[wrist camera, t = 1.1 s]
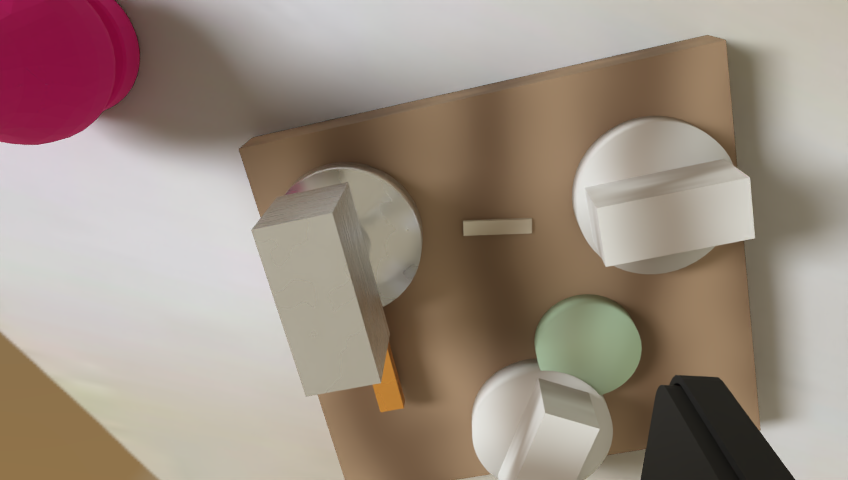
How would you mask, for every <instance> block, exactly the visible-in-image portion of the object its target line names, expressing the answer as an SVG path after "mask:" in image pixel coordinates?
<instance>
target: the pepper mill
mask: <svg viewBox="0 0 848 480" xmlns="http://www.w3.org/2000/svg"><path fill="white" fill-rule="evenodd" d="M139 62H140V52H139V45H138V40H137V36H136V33H135V31H134V28H133V26H132V24H131V22H130V20H129V18H128V17H127V15H126V14H125V12H124V11H123V9H122V8H121V7H120V6H119V5H118V4H117V3H116V2H115V1H114V0H0V142H5V143H11V144H23V145H39V144H44V143H50V142H54V141H58V140H61V139H65V138H68V137H71V136H73V135H75V134H77V133H79V132H81V131H83V130H84V129H86V128H87V127H88V126H89V125H90V124H92V123H93V122H94V121H95V120H96V119H97V118H98V117H99V115H100V114H101V113H102V112H103V111H104V110H106V109H109V108H111V107H112V106H114V105H116V104H117V103H119V102H120V101H121V100H122V99H123V98H124V97H125V96H126V95H127V94H128V93H129V91H130V90H131V88H132V86H133V84H134V82H135V80H136V77H137V73H138V69H139Z"/></svg>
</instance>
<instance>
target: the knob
mask: <svg viewBox="0 0 848 480" xmlns="http://www.w3.org/2000/svg"><path fill="white" fill-rule="evenodd" d="M252 233H253V237H254V240H255V243H256V246H257V249H258V252H259V255H260V258H261V261H262V264H263V267H264V270H265V273H266V276H267V279H268V282H269V285H270V288H271V291H272V294H273V297H274V301H275V304H276V307H277V310H278V313H279V316H280V319H281V322H282V325H283V328H284V331H285V334H286V337H287V340H288V343H289V346H290V349H291V352H292V355H293V358H294V361H295V365H296V368H297V371H298V374H299V377H300V380H301V383H302V386H303V389H304V392H305V395H306V397H307V396H312V395H318V394H323V393H329V392H335V391H340V390H346V389H351V388H357V387H362V386H368V385H373V388H374V392H375V395H376V399H377V402H378V406H379V409H380V412H385V411H391V410H397V409H403V408H404V403H405V398H404V394H403V390H402V387H401V383H400V380H399V376H398V372H397V369H396V365H395V361H394V358H393V354H392V351H391V347H390V343H389V337H390V332H389V329H388V325H387V322H386V318H385V314H384V311H383V307H384V306H385V305H387V304H389V303H391V302H392V301H393V300H395V299H396V298H397V297H399V296H400V295H401V294H402V293H403V292H404V291H405V289H406V288H407V287H408V286H409V284H410V283H411V281H412V280H413V278H414V276H415V274H416V271H417V269H418V266H419V262H420V258H421V251H422V242H423V227H422V221H421V217H420V214H419V211H418V209H417V206H416V204H415V202H414V200H413V199H412V197H411V196H410V194H409V193H408V192H407V191H406V189H405V188H404V187H403V186H402V185H401V184H400V183H399V182H398V181H397V180H396V179H394V178H393V177H391V176H390V175H388V174H387V173H385V172H383V171H381V170H379V169H377V168H375V167H372V166H369V165H365V164H361V163H355V162H336V163H330V164H326V165H323V166H320V167H317V168H315V169H313V170H311V171H309V172H307V173H306V174H304V175H303V176H301V177H300V178H299V179H298V180H297V181H296V182H295V183H294V184H293V185H292V186H291V187H290V188H289V189H288V191H287V192H286V193H285V195H284V196H280V197H277V198H276V199H275V200H274V202H273V203H272V204H271V206H270V207H269V208H268V209H267V211H266V212H265V213H264V214H263V216H262V217H261V218H260V219H259V221H258V222H257V223H256V225H255V226H254V227H253V228H252Z"/></svg>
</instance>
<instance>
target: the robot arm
mask: <svg viewBox="0 0 848 480" xmlns="http://www.w3.org/2000/svg"><path fill="white" fill-rule="evenodd" d="M641 480H795V479H794V477H793V476H792V475H791V473H790V472H789V471H788V469H787V468H786V467H785V465H784V464H783V462H782V461H781V460H780V458H779V457H778V456H777V454H776V453H775V452H774V450H773V449H772V447H771V446H770V445H769V443H768V442H767V441H766V439H765V438H764V437H763V435H762V434H761V433H760V431H759V430H758V428H757V427H756V426H755V424H754V423H753V422H752V420H751V419H750V418H749V416H748V415H747V413H746V412H745V411H744V409H743V408H742V407H741V405H740V404H739V403H738V401H737V400H736V398H735V397H734V396H733V394H732V393H731V392H730V390H729V389H728V388H727V386H726V385H725V383H724V382H723V381H722V380H721V379H720V378H719V377H707V376H687V375H675V376H674V377H673V378H672V380H671V382H670V384H669V385H660V386H659V387H658V389H657V391H656V395H655V401H654V406H653V412H652V418H651V424H650V429H649V435H648V441H647V446H646V452H645V458H644V464H643V469H642V475H641Z"/></svg>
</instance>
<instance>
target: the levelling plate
mask: <svg viewBox="0 0 848 480" xmlns="http://www.w3.org/2000/svg"><path fill="white" fill-rule="evenodd" d="M239 152H240V155H241V158H242V161H243V164H244V167H245V170H246V173H247V176H248V180H249V183H250V186H251V189H252V192H253V195H254V198H255V201H256V204H257V208H258V211H259V214H260V217H262V216H263V214H264V213H265V212H266V211H267V209H268V208H269V207H270V206H271V204H272V203H273V202H274V200H275V199H276V198H277V197H280V196H284V195H285V193H286V192H287V191H288V189H289V188H290V187H291V186H292V185H293V184H294V183H295V182H296V181H297V180H298V179H299V178H300V177H301V176H303V175H304V174H306V173H307V172H309V171H311V170H313V169H315V168H317V167H320V166H323V165H326V164H330V163H336V162H355V163H361V164H365V165H369V166H372V167H375V168H377V169H379V170H381V171H383V172H385V173H387V174H388V175H390V176H391V177H393V178H394V179H396V180H397V181H398V182H399V183H400V184H401V185H402V186H403V187H404V188H405V189H406V191H407V192H408V193H409V194H410V196H411V197H412V199H413V200H414V202H415V204H416V206H417V209H418V211H419V214H420V217H421V221H422V227H423V242H422V251H421V258H420V262H419V266H418V269H417V271H416V274H415V276H414V278H413V280H412V281H411V283H410V284H409V286H408V287H407V288H406V289H405V291H404V292H403V293H402V294H401V295H400V296H399V297H397V298H396V299H395V300H393V301H392V302H391V303H389V304H387V305H385V306H384V307H383V311H384V314H385V318H386V322H387V325H388V329H389V332H390V337H389V343H390V347H391V351H392V354H393V358H394V361H395V365H396V369H397V372H398V376H399V380H400V383H401V387H402V390H403V394H404V398H405V403H404V408H403V409H397V410H391V411H385V412H380V409H379V406H378V402H377V399H376V395H375V392H374V388H373V385H368V386H362V387H357V388H351V389H346V390H340V391H335V392H329V393H323V394H318V397H319V400H320V404H321V407H322V410H323V413H324V416H325V419H326V422H327V425H328V428H329V431H330V435H331V438H332V441H333V444H334V447H335V450H336V453H337V456H338V459H339V463H340V466H341V469H342V472H343V475H344V478H345V480H457V479H463V478H469V477H475V476H482V475H488V474H492V475H493V476H494V477H495V478H497V479H498V480H584V479H586V478H587V477H588V476H590V475H591V474H592V473H593V472H594V471H595V470H596V469H597V468H598V467H599V466H600V465H601V464H602V462H603V461H604V459H605V458H606V456H607V455H611V454H617V453H624V452H630V451H636V450H642V449H646V446H647V441H648V435H649V429H650V424H651V418H652V412H653V406H654V401H655V395H656V391H657V389H658V387H659V386H660V385H669V384H670V382H671V380H672V378H673V377H674V376H675V375H687V376H707V377H719V378H720V379H721V380H722V381H723V382H724V383H725V385H726V386H727V388H728V389H729V390H730V392H731V393H732V394H733V396H734V397H735V398H736V400H737V401H738V403H739V404H740V405H741V407H742V408H743V409H744V411H745V412H746V413H747V415H748V416H749V418H750V419H751V420H752V422H753V423H754V424H755V426H756V427H757V428H758V430H760V419H759V408H758V397H757V385H756V374H755V363H754V351H753V340H752V329H751V318H750V306H749V295H748V284H747V272H746V261H745V250H744V240H749V239H754V238H755V232H754V219H753V207H752V195H751V183H750V177H749V176H747V175H746V174H745V173H743V172H742V171H740V170H739V169H738V168H737V159H736V148H735V137H734V126H733V114H732V103H731V92H730V80H729V69H728V58H727V46H726V40H724V39H720V38H716V37H712V36H709V35H706V36H701V37H697V38H692V39H688V40H683V41H679V42H674V43H670V44H666V45H661V46H657V47H652V48H648V49H643V50H639V51H635V52H630V53H626V54H621V55H617V56H612V57H608V58H603V59H599V60H595V61H590V62H586V63H581V64H577V65H572V66H568V67H563V68H559V69H555V70H550V71H546V72H541V73H537V74H532V75H528V76H523V77H519V78H515V79H510V80H506V81H501V82H497V83H492V84H488V85H483V86H479V87H475V88H470V89H466V90H461V91H457V92H452V93H448V94H443V95H439V96H435V97H430V98H426V99H421V100H417V101H412V102H408V103H403V104H399V105H395V106H390V107H386V108H381V109H377V110H372V111H368V112H364V113H359V114H355V115H350V116H346V117H341V118H337V119H332V120H328V121H324V122H319V123H315V124H310V125H306V126H301V127H297V128H292V129H288V130H284V131H279V132H275V133H270V134H266V135H261V136H257V137H253V138H252V139H250V140H249V141H248V142H247V143H245V144H244V145H243V146H242V147H241V148H239Z"/></svg>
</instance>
